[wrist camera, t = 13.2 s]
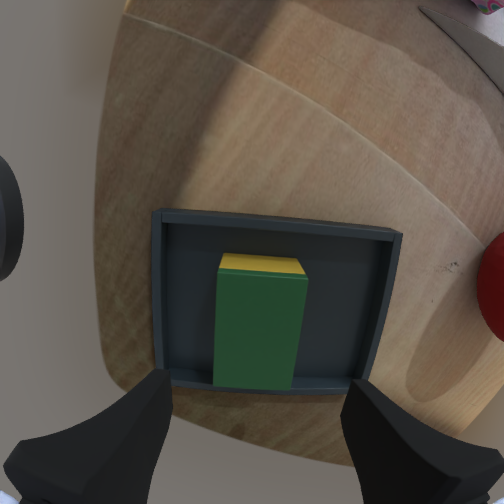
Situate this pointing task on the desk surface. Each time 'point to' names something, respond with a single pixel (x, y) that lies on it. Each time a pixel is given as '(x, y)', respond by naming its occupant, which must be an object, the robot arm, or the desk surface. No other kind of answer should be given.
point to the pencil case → (488, 5)
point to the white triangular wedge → (474, 45)
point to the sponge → (257, 321)
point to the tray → (316, 304)
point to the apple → (492, 286)
